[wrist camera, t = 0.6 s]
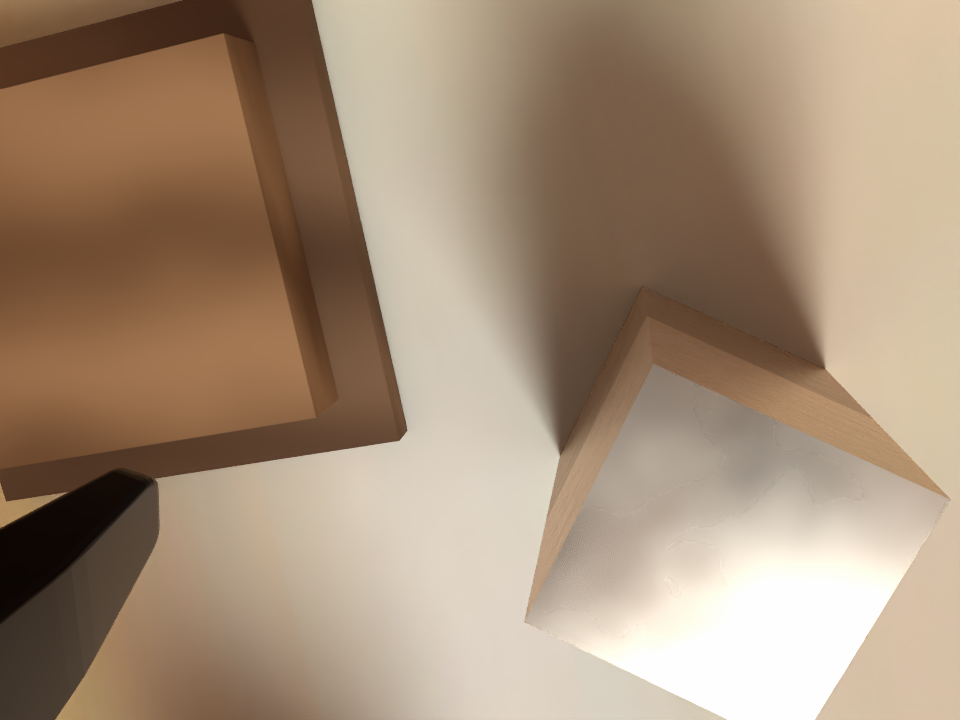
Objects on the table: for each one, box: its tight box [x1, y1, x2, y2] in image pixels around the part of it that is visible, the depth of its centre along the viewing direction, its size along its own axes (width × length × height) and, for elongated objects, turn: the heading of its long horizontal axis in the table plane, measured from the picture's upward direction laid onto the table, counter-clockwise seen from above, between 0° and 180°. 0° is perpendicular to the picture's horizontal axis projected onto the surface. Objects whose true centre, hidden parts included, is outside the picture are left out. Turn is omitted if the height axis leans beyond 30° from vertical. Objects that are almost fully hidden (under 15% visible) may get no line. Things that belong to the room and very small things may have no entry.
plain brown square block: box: [524, 286, 951, 720], centre depth 21 cm, size 6×6×10 cm
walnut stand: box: [0, 0, 407, 501], centre depth 26 cm, size 13×13×3 cm
